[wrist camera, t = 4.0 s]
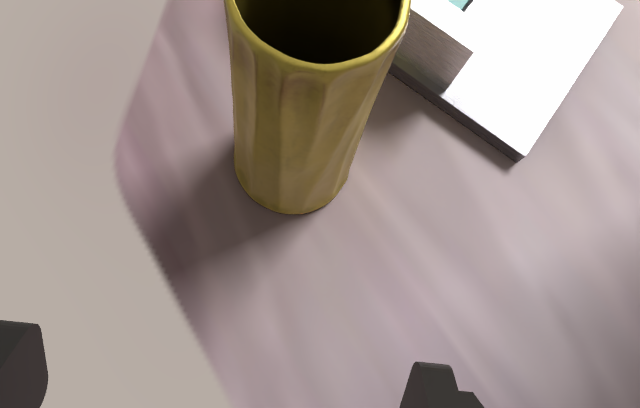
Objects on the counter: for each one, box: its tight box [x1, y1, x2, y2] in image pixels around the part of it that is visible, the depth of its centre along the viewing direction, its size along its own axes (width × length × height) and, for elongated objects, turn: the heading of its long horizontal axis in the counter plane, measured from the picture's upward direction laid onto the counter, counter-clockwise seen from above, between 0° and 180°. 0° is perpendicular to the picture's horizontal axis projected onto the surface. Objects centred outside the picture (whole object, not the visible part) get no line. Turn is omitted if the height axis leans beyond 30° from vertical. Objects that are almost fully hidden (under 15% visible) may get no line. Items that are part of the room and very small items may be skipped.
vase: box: [224, 0, 411, 214], centre depth 21 cm, size 6×6×14 cm
